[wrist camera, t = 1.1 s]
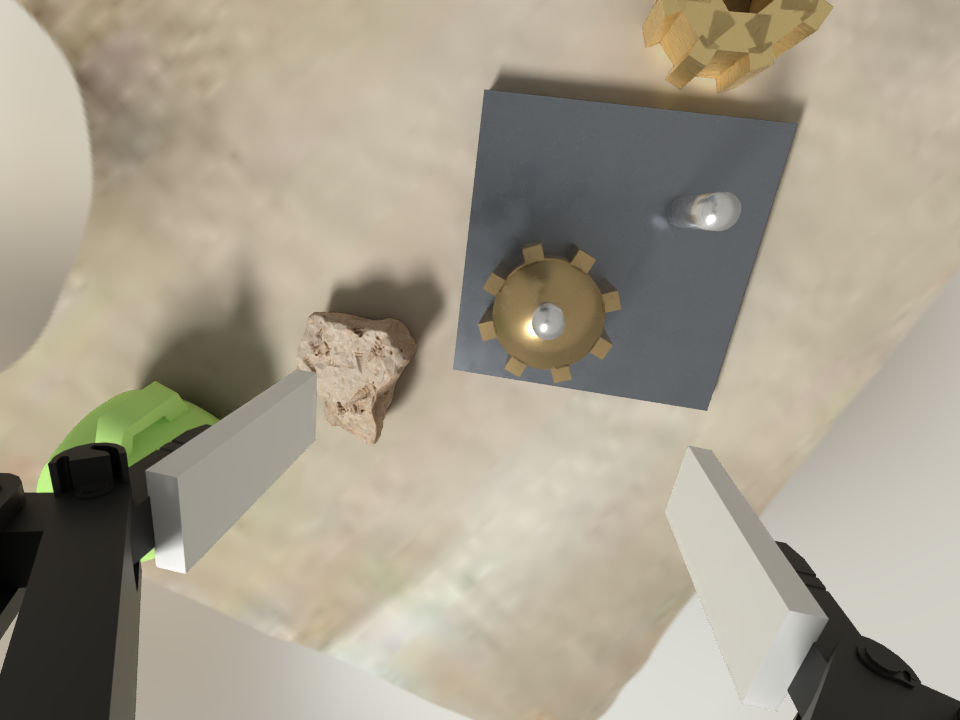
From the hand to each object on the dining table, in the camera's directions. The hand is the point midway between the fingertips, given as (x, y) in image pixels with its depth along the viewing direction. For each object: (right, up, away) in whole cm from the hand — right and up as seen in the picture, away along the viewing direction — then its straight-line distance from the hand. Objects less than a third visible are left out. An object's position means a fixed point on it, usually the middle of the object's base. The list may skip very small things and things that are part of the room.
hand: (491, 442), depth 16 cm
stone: (-10, +3, +24) cm, 26 cm away
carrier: (+9, +10, +18) cm, 23 cm away
